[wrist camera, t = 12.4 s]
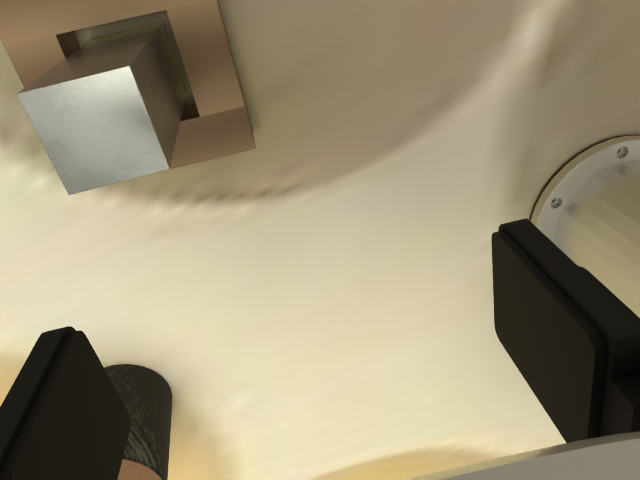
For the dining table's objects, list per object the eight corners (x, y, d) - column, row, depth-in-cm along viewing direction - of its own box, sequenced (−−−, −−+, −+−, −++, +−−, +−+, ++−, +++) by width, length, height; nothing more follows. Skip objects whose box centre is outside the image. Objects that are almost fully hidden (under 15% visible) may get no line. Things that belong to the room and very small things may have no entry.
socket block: (253, 132, 32) (255, 148, 29) (86, 172, 32) (75, 192, 29) (180, -141, 25) (175, -150, 22) (-37, -95, 24) (-68, -100, 22)
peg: (186, 93, 30) (169, 169, 20) (120, 110, 30) (68, 194, 20) (162, 22, 28) (129, 66, 18) (90, 39, 28) (16, 94, 18)
